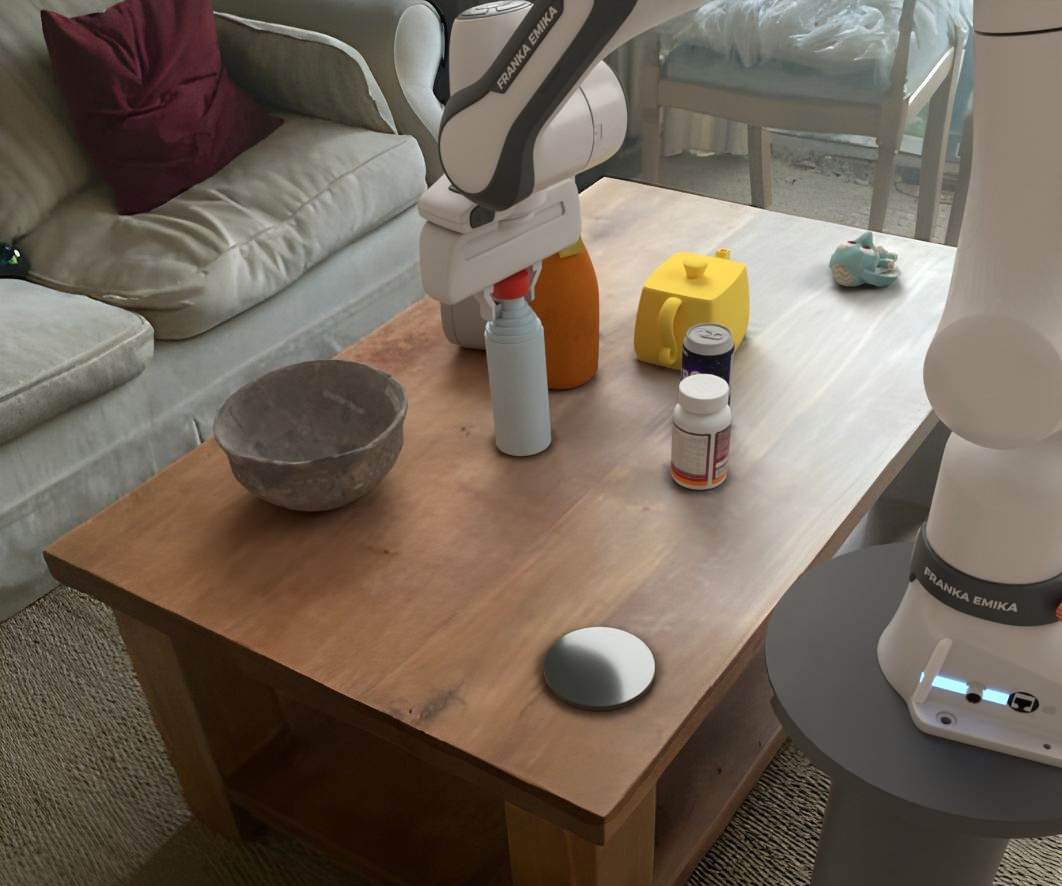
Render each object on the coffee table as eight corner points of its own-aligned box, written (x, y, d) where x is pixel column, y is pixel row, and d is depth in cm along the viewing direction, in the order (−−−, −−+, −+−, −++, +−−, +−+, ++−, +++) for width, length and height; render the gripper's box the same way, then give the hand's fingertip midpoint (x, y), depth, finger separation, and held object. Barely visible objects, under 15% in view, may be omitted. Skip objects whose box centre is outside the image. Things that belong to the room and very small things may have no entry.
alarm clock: (493, 291, 156) (485, 199, 147) (557, 297, 154) (553, 204, 145) (444, 363, 141) (433, 265, 133) (515, 371, 139) (508, 272, 130)
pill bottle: (716, 455, 123) (722, 367, 116) (734, 487, 118) (742, 396, 111) (663, 464, 122) (666, 375, 115) (679, 496, 118) (684, 405, 110)
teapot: (681, 301, 151) (685, 218, 144) (766, 318, 146) (775, 234, 139) (617, 368, 138) (617, 281, 131) (708, 390, 134) (714, 301, 126)
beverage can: (688, 409, 130) (693, 317, 123) (734, 419, 128) (742, 326, 121) (671, 433, 127) (675, 340, 119) (718, 444, 125) (725, 350, 117)
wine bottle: (515, 391, 135) (499, 146, 116) (529, 352, 143) (516, 114, 123) (594, 396, 134) (591, 147, 114) (604, 355, 141) (603, 115, 121)
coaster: (675, 656, 99) (675, 651, 99) (619, 727, 93) (619, 722, 93) (581, 617, 104) (581, 612, 103) (522, 683, 98) (521, 678, 97)
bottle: (561, 434, 127) (551, 275, 115) (531, 461, 123) (517, 300, 111) (516, 421, 130) (501, 264, 118) (485, 447, 126) (466, 288, 114)
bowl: (270, 428, 132) (252, 354, 125) (436, 436, 129) (427, 361, 122) (203, 535, 116) (179, 457, 110) (391, 548, 113) (377, 468, 107)
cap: (528, 281, 117) (527, 264, 115) (530, 298, 114) (529, 280, 112) (490, 285, 117) (488, 268, 115) (491, 301, 114) (489, 284, 112)
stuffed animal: (931, 236, 151) (881, 247, 144) (916, 287, 155) (866, 300, 148) (866, 215, 157) (815, 224, 150) (853, 264, 161) (803, 275, 154)
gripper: (550, 143, 115) (552, 266, 124) (403, 205, 104) (418, 335, 113) (595, 158, 111) (594, 283, 121) (448, 223, 101) (460, 356, 110)
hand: (508, 309), depth 117 cm, fingers closed on bottle, 4 cm apart
